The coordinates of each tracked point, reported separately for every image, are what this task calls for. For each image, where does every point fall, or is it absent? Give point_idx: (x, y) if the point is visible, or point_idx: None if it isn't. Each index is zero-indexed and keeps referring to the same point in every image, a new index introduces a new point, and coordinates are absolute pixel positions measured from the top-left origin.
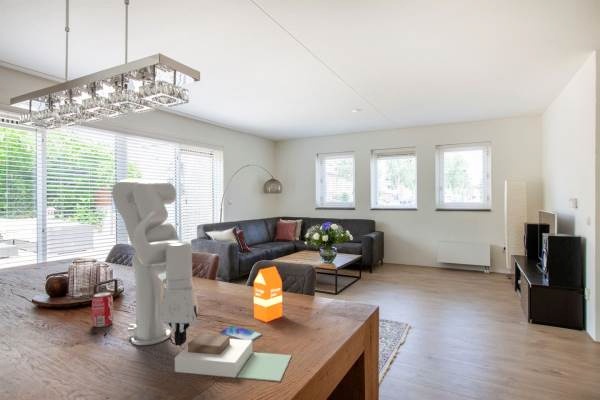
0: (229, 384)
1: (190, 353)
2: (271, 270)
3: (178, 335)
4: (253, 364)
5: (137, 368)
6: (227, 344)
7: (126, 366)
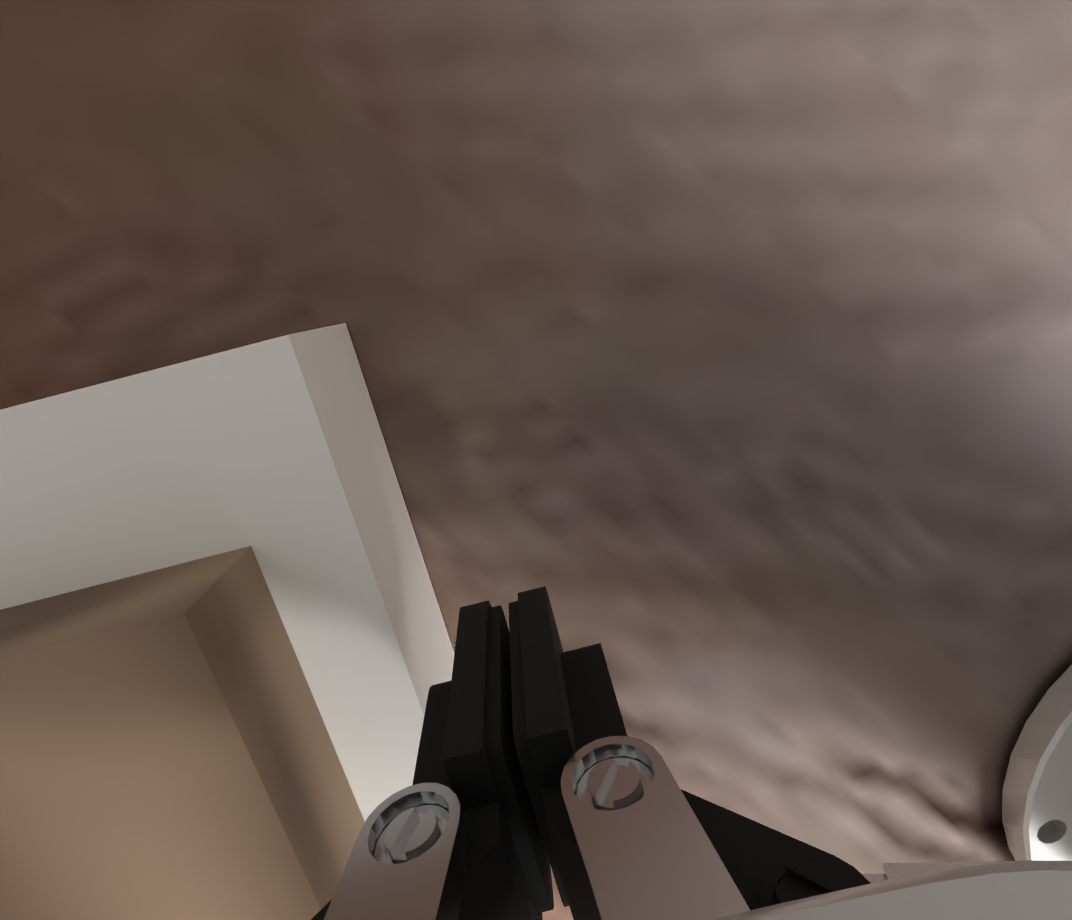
0: None
1: (178, 532)
2: None
3: (475, 707)
4: None
5: (838, 190)
6: None
7: (1007, 168)
